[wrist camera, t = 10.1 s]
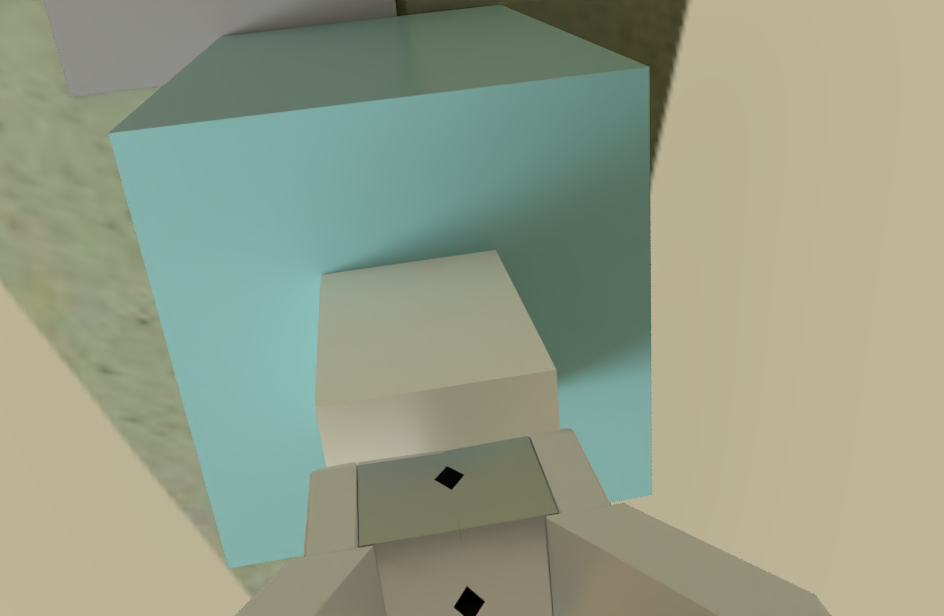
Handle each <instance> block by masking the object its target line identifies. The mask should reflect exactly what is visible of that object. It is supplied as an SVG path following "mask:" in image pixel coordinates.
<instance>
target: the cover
mask: <svg viewBox="0 0 944 616" xmlns="http://www.w3.org/2000/svg"><path fill="white" fill-rule="evenodd" d="M108 134H109V138H110V141H111V145H112V149H113V152H114V156H115V159H116V163H117V167H118V170H119V174H120V177H121V181H122V185H123V188H124V192H125V195H126V199H127V203H128V206H129V210H130V214H131V217H132V221H133V224H134V228H135V232H136V235H137V239H138V242H139V246H140V250H141V253H142V257H143V260H144V264H145V268H146V271H147V275H148V279H149V282H150V286H151V289H152V293H153V297H154V300H155V304H156V307H157V311H158V315H159V318H160V322H161V325H162V329H163V333H164V336H165V340H166V344H167V347H168V351H169V354H170V358H171V362H172V365H173V369H174V372H175V376H176V380H177V383H178V387H179V391H180V394H181V398H182V401H183V405H184V409H185V412H186V416H187V419H188V423H189V427H190V430H191V434H192V437H193V441H194V445H195V448H196V452H197V456H198V459H199V463H200V466H201V470H202V474H203V477H204V481H205V484H206V488H207V492H208V495H209V499H210V502H211V506H212V510H213V513H214V517H215V521H216V524H217V528H218V531H219V535H220V539H221V542H222V546H223V549H224V553H225V557H226V560H227V564H228V567H229V568H233V567H238V566H244V565H250V564H256V563H262V562H267V561H273V560H279V559H285V558H290V557H296V556H302V555H304V545H305V532H306V519H307V506H308V493H309V481H310V474H311V473H312V471H313V470H314V469H318V468H324V467H329V466H335V465H341V464H347V463H352V462H355V463H356V464H357V465H358V462H363V461H370V460H378V459H385V458H392V457H399V456H406V455H414V454H421V453H428V452H435V451H442V450H444V451H448V450H454V449H459V448H464V447H470V446H475V445H481V444H486V443H492V442H497V441H502V440H508V439H513V438H519V437H524V436H530V435H535V434H540V433H545V432H550V431H555V430H560V429H565V428H569V429H571V430H573V431H574V433H575V435H576V437H577V439H578V441H579V442H580V444H581V446H582V448H583V450H584V452H585V454H586V456H587V458H588V460H589V462H590V464H591V466H592V468H593V470H594V472H595V474H596V476H597V478H598V480H599V482H600V484H601V486H602V488H603V490H604V492H605V494H606V496H607V497H608V499H609V501H610V502H614V501H620V500H626V499H632V498H638V497H643V496H649V495H652V441H651V440H652V433H651V431H652V428H651V426H652V424H651V267H650V266H651V258H650V86H649V66H646V65H644V64H641V63H639V62H637V61H634V60H632V59H630V58H627V57H625V56H622V55H620V54H618V53H615V52H613V51H610V50H608V49H606V48H603V47H601V46H598V45H596V44H594V43H591V42H589V41H586V40H584V39H582V38H579V37H577V36H574V35H572V34H570V33H567V32H565V31H563V30H560V29H558V28H555V27H553V26H551V25H548V24H546V23H543V22H541V21H539V20H536V19H534V18H531V17H529V16H527V15H524V14H522V13H519V12H517V11H515V10H512V9H510V8H508V7H505V6H503V5H492V6H483V7H474V8H466V9H457V10H448V11H439V12H430V13H422V14H413V15H404V16H395V17H386V18H378V19H369V20H360V21H351V22H343V23H334V24H325V25H316V26H307V27H299V28H290V29H281V30H272V31H263V32H255V33H246V34H237V35H228V36H220V37H219V38H218V39H217V40H216V41H215V42H214V43H212V44H211V45H210V46H209V47H208V48H207V49H205V50H204V51H203V52H202V53H201V54H200V55H198V56H197V57H196V58H195V59H194V60H193V61H192V62H190V63H189V64H188V65H187V66H186V67H185V68H183V69H182V70H181V71H180V72H179V73H178V74H176V75H175V76H174V77H173V78H172V79H171V80H170V81H168V82H167V83H166V84H165V85H164V86H163V87H161V88H160V89H159V90H158V91H157V92H156V93H154V94H153V95H152V96H151V97H150V98H149V99H147V100H146V101H145V102H144V103H143V104H142V105H141V106H139V107H138V108H137V109H136V110H135V111H134V112H132V113H131V114H130V115H129V116H128V117H127V118H125V119H124V120H123V121H122V122H121V123H120V124H119V125H117V126H116V127H115V128H114V129H113V130H112V131H110V132H109V133H108Z"/></svg>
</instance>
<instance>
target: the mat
mask: <svg viewBox="0 0 944 616" xmlns="http://www.w3.org/2000/svg"><path fill="white" fill-rule="evenodd" d="M44 3H45V7H46V10H47V14H48V17H49V21H50V25H51V28H52V32H53V36H54V39H55V43H56V47H57V50H58V54H59V57H60V61H61V65H62V68H63V72H64V76H65V79H66V83H67V87H68V90H69V94H70V97H72V96H80V95H89V94H98V93H107V92H115V91H124V90H133V89H142V88H150V87H159V86H164V85H165V84H166V83H167V82H168V81H170V80H171V79H172V78H173V77H174V76H175V75H176V74H178V73H179V72H180V71H181V70H182V69H183V68H185V67H186V66H187V65H188V64H189V63H190V62H192V61H193V60H194V59H195V58H196V57H197V56H198V55H200V54H201V53H202V52H203V51H204V50H205V49H207V48H208V47H209V46H210V45H211V44H212V43H214V42H215V41H216V40H217V39H218V38H219V37H220V36H228V35H237V34H246V33H255V32H263V31H272V30H281V29H290V28H299V27H307V26H316V25H325V24H334V23H343V22H351V21H360V20H369V19H378V18H386V17H395V16H397V12H396V4H395V0H44Z"/></svg>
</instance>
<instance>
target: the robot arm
mask: <svg viewBox="0 0 944 616" xmlns="http://www.w3.org/2000/svg"><path fill="white" fill-rule="evenodd" d="M235 616H831V615H830V614H829V612H828V611H827V610H826V608H825V607H824V606H823V605H822V603H821V602H820V601H819V599H818V598H817V596H816V595H815V594H813V593H811V592H809V591H806V590H804V589H802V588H800V587H798V586H796V585H794V584H792V583H790V582H788V581H786V580H783V579H781V578H779V577H777V576H775V575H773V574H771V573H769V572H767V571H765V570H762V569H760V568H758V567H756V566H754V565H752V564H750V563H748V562H746V561H743V560H742V559H739V558H737V557H735V556H733V555H731V554H729V553H727V552H725V551H723V550H720V549H719V548H716V547H714V546H712V545H710V544H708V543H706V542H704V541H702V540H700V539H698V538H696V537H693V536H691V535H689V534H687V533H685V532H683V531H681V530H679V529H677V528H674V527H672V526H670V525H668V524H666V523H664V522H662V521H660V520H658V519H656V518H654V517H651V516H649V515H647V514H645V513H643V512H641V511H639V510H637V509H635V508H633V507H631V506H629V505H626V504H624V503H622V504H616V505H611V503H610V501H609V499H608V497H607V496H606V494H605V492H604V490H603V488H602V486H601V484H600V482H599V480H598V478H597V476H596V474H595V472H594V470H593V468H592V466H591V464H590V462H589V460H588V458H587V456H586V454H585V452H584V450H583V448H582V446H581V444H580V442H579V441H578V439H577V437H576V435H575V433H574V431H573V430H571V429H569V428H565V429H560V430H555V431H550V432H545V433H540V434H535V435H530V436H524V437H519V438H513V439H508V440H502V441H497V442H492V443H486V444H481V445H475V446H470V447H464V448H459V449H454V450H448V451H444V450H442V451H435V452H428V453H421V454H414V455H406V456H399V457H392V458H385V459H378V460H370V461H363V462H358V465H357V464H356V463H355V462H352V463H347V464H341V465H335V466H329V467H324V468H318V469H314V470H313V471H312V473H311V474H310V481H309V493H308V506H307V519H306V532H305V545H304V557H300V558H294V559H290V560H289V561H288V562H287V563H286V564H285V565H284V566H283V567H282V568H281V569H280V570H279V571H278V572H277V573H276V574H275V575H274V576H273V577H272V578H271V579H270V580H269V581H268V582H267V583H266V584H265V585H264V586H263V587H262V588H261V589H260V591H259V592H258V593H257V594H256V595H255V596H254V597H253V598H252V599H251V600H250V601H249V602H248V603H247V604H246V605H245V606H244V607H243V608H242V609H241V610H240V611H239V612H238V613H237V614H236V615H235Z"/></svg>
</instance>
